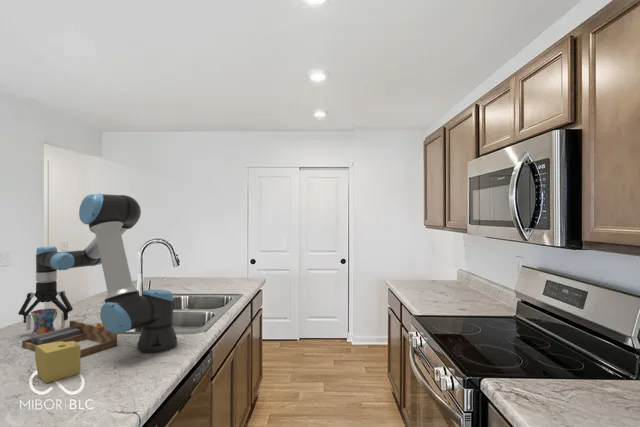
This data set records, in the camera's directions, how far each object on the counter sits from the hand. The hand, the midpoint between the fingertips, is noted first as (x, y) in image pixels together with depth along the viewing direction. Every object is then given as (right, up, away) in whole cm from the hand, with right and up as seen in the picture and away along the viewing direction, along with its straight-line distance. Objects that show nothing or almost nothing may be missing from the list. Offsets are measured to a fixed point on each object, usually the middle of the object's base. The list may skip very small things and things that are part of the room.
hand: (46, 328), depth 167 cm
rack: (+21, -2, -16) cm, 26 cm away
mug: (0, -3, 0) cm, 3 cm away
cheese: (+35, -2, -42) cm, 55 cm away
